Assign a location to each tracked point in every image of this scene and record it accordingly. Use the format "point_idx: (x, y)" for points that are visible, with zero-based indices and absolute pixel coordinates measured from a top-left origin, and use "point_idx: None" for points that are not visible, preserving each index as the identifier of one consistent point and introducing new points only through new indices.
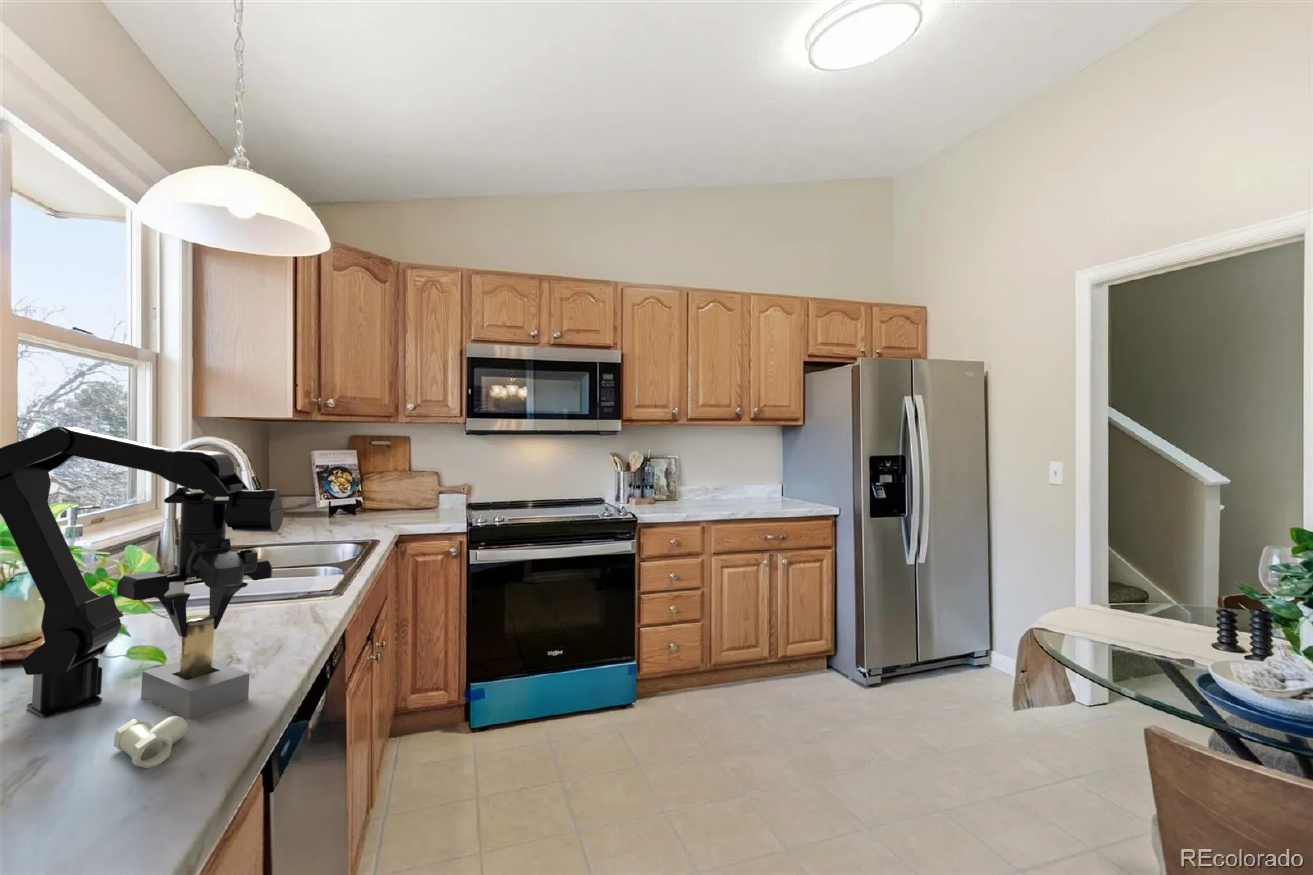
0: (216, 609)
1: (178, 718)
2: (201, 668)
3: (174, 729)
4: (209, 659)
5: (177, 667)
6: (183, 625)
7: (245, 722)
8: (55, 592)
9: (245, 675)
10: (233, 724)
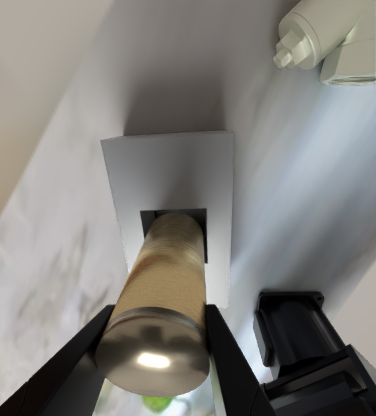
0: (72, 390)
1: (307, 17)
2: (175, 219)
3: None
4: (155, 231)
5: None
6: (220, 339)
7: (169, 4)
8: None
9: (110, 139)
10: (189, 18)
